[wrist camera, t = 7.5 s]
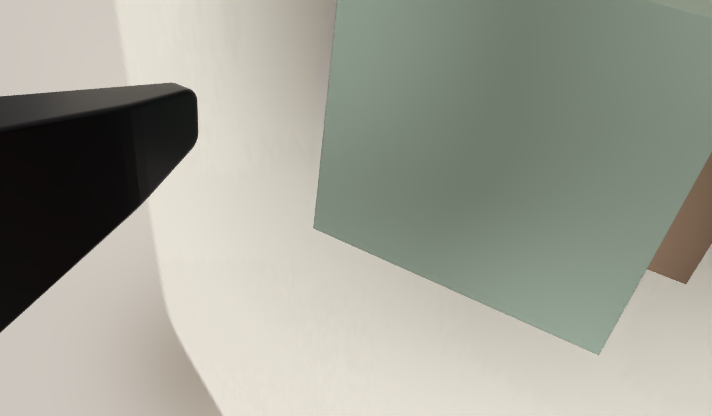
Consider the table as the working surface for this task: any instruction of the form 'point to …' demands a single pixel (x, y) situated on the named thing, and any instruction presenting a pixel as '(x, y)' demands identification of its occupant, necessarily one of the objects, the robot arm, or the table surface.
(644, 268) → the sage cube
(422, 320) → the table surface
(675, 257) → the walnut base
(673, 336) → the table surface
